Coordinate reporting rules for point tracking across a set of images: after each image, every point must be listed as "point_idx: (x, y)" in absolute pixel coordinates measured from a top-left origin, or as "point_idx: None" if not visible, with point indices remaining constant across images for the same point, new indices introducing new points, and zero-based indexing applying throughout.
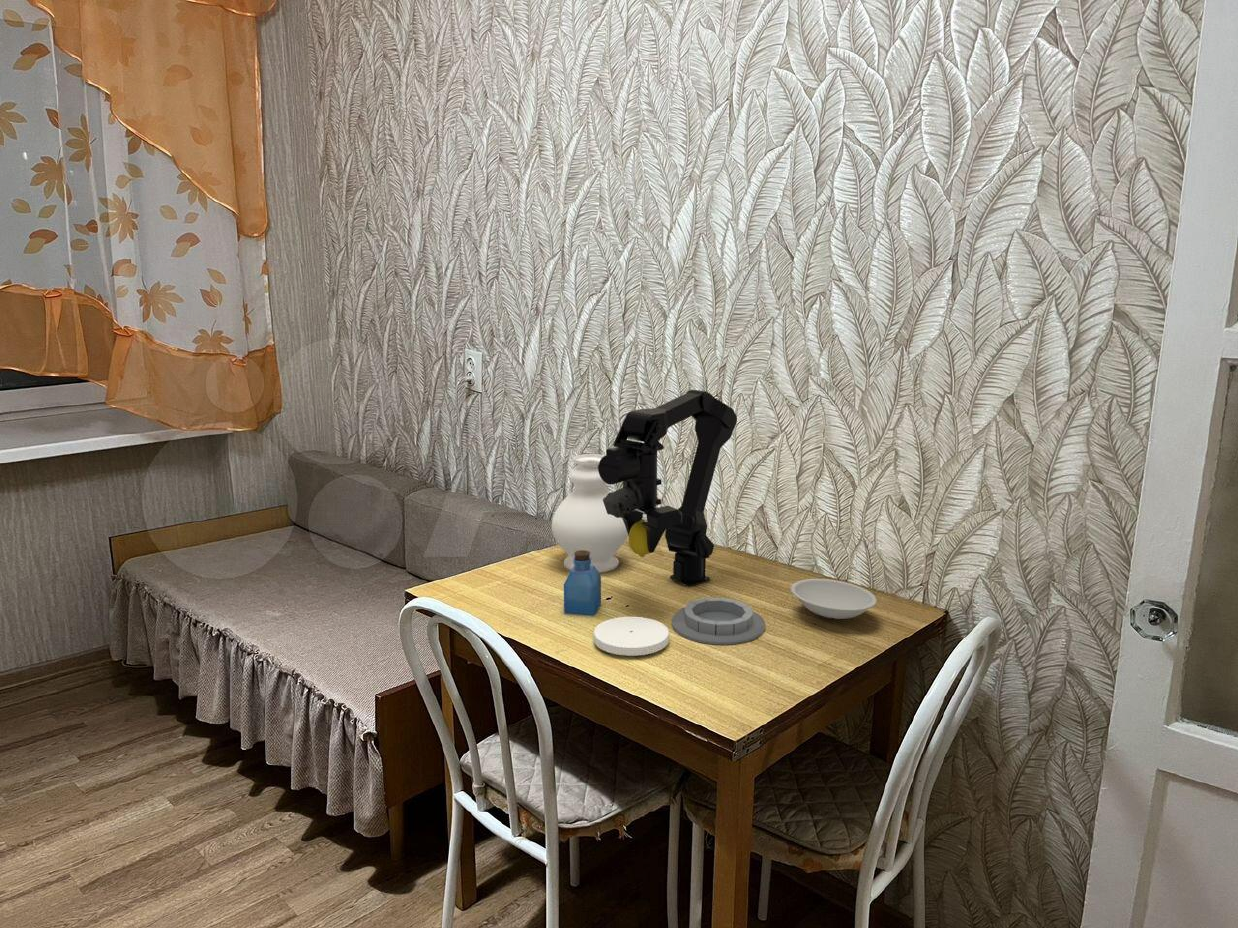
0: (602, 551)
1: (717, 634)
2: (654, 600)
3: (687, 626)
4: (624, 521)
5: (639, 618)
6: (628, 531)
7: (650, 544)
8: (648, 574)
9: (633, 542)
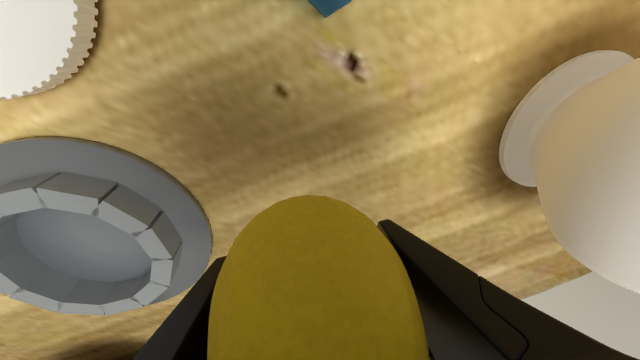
0: (556, 145)
1: None
2: (288, 169)
3: (56, 172)
4: (565, 342)
5: (55, 41)
6: (442, 272)
7: (176, 311)
8: (424, 210)
9: (269, 233)
